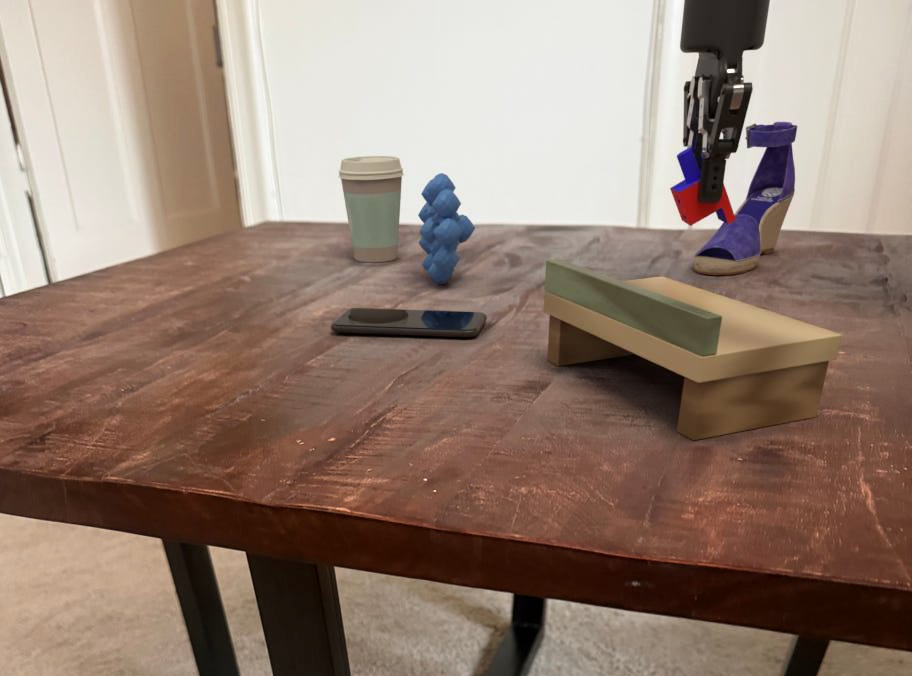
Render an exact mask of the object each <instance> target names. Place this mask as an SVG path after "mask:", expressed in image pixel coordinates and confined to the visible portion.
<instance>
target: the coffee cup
mask: <svg viewBox="0 0 912 676" xmlns="http://www.w3.org/2000/svg"><path fill="white" fill-rule="evenodd" d="M340 162H341V163H340V169H339V170H338V178H339V179H340V181H341V186H342V191H343V198H344V199H343V200H344V204H345V209H346V210H345V211H346V215H347V216H346V217H347V222H348V229H349V233H350V234H349V235H350V239H351V245H352V251H353V257H354V260H355V261H356V262H360V263H376V264H377V263H385V262H392V261H395V260H396V259H397V258H398V248H399V232H400V218H401V217H400V215H401V199H402V197H401V196H402V181H403V179H402V178H403V176H404V175H405V174H404V172H403V171H404V168H403V167H402V165H401V160H400V158H399V157H397V156H392V155H391V156H389V155H365V156H354V157H347V158H343V159H341V161H340Z"/></svg>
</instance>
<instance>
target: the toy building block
mask: <svg viewBox="0 0 912 676" xmlns="http://www.w3.org/2000/svg"><path fill="white" fill-rule="evenodd" d="M676 158H677V162H678V164H679V167H680V169H681V172H682V175H683V178H684V179H683V180H682V181H679V182H678V183H676V184H675V185H673V186H671V187H670V188H669V189H670V192H671V195H672V197H673V198H672V199H673V201H674V203H675V206H676V207H677V212H678V213H679V216H680V219H681V221H682V222H684V223H685V224H687V225H688V226H694V225H695V224H697V223H698V222H700V221H702V220H704V219H705V218H708V217H709V216H710V215H712V214H714V213H715V214H716V217H717V219H718V220H719V221H721V222H722V223H723V222H725V223H727V224H730V223H731V222H733V221H735V220H736V219H735V216H734V214H735V213H734V210H733V208H732V204H731V201H730V197H729V195H728V192H727V189H726V186H725V183H724V182H723V189H722V197H721V200H720V201H719V202H716V203H701V202H699V201H698V199H697V196H698V188H699V179H700V170H699V168H698V165H697V162H696V159H695V156H694V153H693V150H692V148H688V149H687V148H686V149H684V150H682V151H681V152H679V153H678V154H677V155H676Z"/></svg>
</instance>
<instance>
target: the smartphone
mask: <svg viewBox="0 0 912 676" xmlns="http://www.w3.org/2000/svg"><path fill="white" fill-rule="evenodd" d="M487 319H488V318H487V314H486V313H485V312H482V311H462V310H461V311H459V310H435V309H434V310H430V309H429V310H428V309H405V308H404V309H401V308H400V309H399V308H375V307H374V308H370V307H350V308H348V309H346V310H345V311H344V312H342V314H341V315H339V316H338V317H337V318H336V319H334V321H333V322H332V323H331V324H330V329H331V331H332V332H335V333H345V334H346V333H347V334H367V335H369V334H371V335H395V336H396V335H398V336H418V337H419V336H421V337H422V336H423V337H444V338H445V337H446V338H449V337H450V338H473V337H476V336H477V335H478V334H479V333H480V332H481V330H482V328H483V326H484V324H485V323H486V321H487Z"/></svg>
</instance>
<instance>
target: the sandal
mask: <svg viewBox="0 0 912 676" xmlns="http://www.w3.org/2000/svg"><path fill="white" fill-rule="evenodd" d="M797 131H798V125H797V124H793V123H792V122H790V121H776V122H775V121H774V122H773V124H757V123H753V124H751V125H748V126H746V127H745V140H746V149H752V148H765V150H764V153H763V154H762V157H761V159H760V161H759V163H758V165H757V167H756V170H755V172H754V174H753V177H752V179H751V181H750V184H749V187H748V191H747V194H746V196H745V200H744V201H743V202H742V204H741V205H740V206H739V208H737V210H736V212H735V213H734V216H735V219H736V220H735V221H733V222H731V223H730V224H727V223H725V222H723V221H722V224H721V225H720V227H719V228H718V229H717V230H716V232H715V233H714V234H713V236H712V237H711V238H710V239H709V240H708V241H707V242H706V243H705V245H703V246H702V247H701V248H700V249H699V250H698V251H697V252H696V253H695V254H694V256H693V271H695V272H696V273H698V274H703V275H711V276H732V275H738V274H742V273H743V274H744V273H747V272H751V271H753V270H755V269H756V268H757V267H758V263H759V262H760V259H761V255H769V254H771V253H774V252H775V248H776V245H777V244H778V240H779V236H780V233H781V229H782V227H783V224H784V222H785V219H786V216H787V213H788V211H789V209H790V207H791V203H792V200H793V198H794V196H795V192H796V190H795V189H796V188H795V187H796V186H795V185H796V184H795V183H796V168H795V161H794V153H793V152H794V151H793V143H795V141H796V137H797Z"/></svg>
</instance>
